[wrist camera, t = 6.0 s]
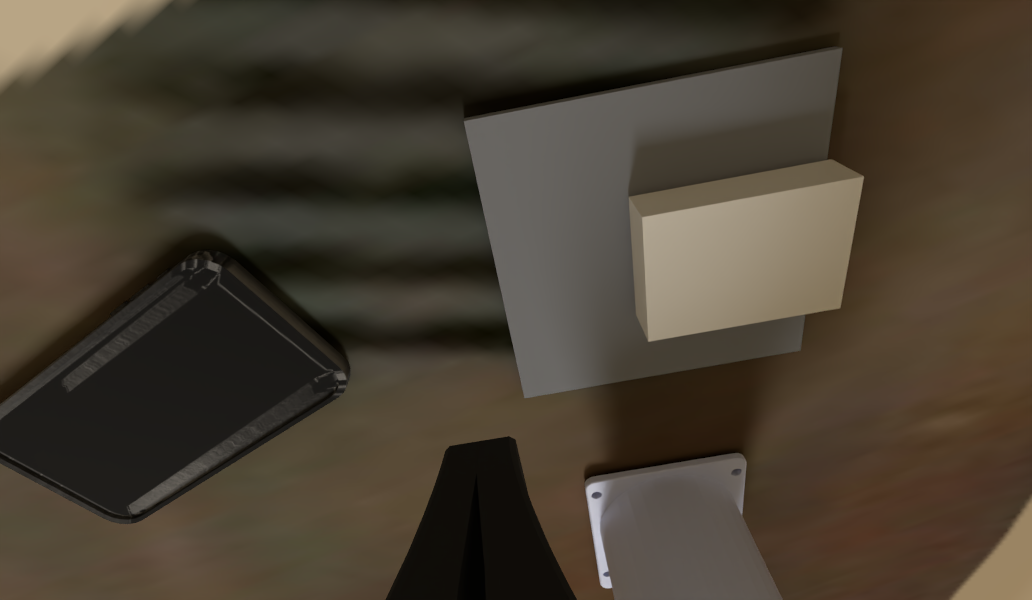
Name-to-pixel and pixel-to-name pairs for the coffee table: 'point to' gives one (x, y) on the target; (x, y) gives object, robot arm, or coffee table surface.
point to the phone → (169, 391)
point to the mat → (605, 207)
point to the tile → (743, 248)
